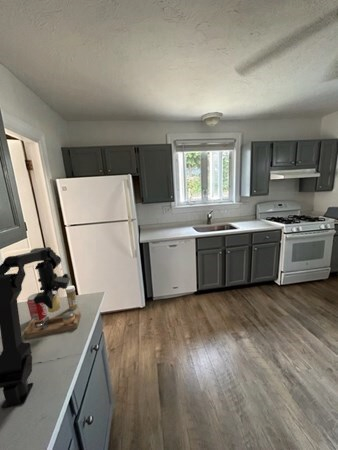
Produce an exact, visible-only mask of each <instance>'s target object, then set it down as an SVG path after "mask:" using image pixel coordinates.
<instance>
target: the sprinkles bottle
mask: <svg viewBox="0 0 338 450" xmlns="http://www.w3.org/2000/svg"><path fill="white" fill-rule="evenodd" d="M64 290H65V293H66V299H67V305H68V309H69V310H68V311H75V310H77V309H78V308H79V307H78V301H77V300H78V299H77V295H76V288H75V286H74V285H68V286H67V288H66V289H64Z"/></svg>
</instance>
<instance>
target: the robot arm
mask: <svg viewBox="0 0 338 450" xmlns="http://www.w3.org/2000/svg"><path fill="white" fill-rule="evenodd" d="M34 262H36V263H37V265H36V266H35V268H34V269H35V270H37V271H38V277H39V278H38V279H37V281H38V283H40V285H41V286H40V288H39V290H40V291H41V292H37V293H38V294H37V295H36V297H35V298H34V299H33V300H34V303H35V304H37V303H44V304H45V306H46V308H47V309H48V308H49V309H52V308H53V301H52V298H53V297H54V296H55V294H54V295H53V293H52V291H57V293H58V290H59V289H62V290H65V289H66V288H67V287H68V286H69V285H70V283H69V282H70V280H71V278H70V276H69V273H64V274H63V275H60V276H58V274H57V273H56V272H55V270H54V269H56V268H57V267H58V266H59V265H60V264H61V263H62V258H61V257H60V256H59V255H57V254H56V252H54V250H53V249H52V248H51V247H50V246H48V247H47V246H46V247H38V248H37V247H36V248H33V249H31V250H30V252H26V253H21V254H16V255H9V256H6V257H5V259H4V260H3V261H2V263H1V264H0V337H1V338H0V339H1V346H2V350H1V353H0V389H2V393H3V395H4V396H3V397H4V401H3V402H2V405H1V407H0V408H1V409H7V408H10V407H11V408H12V407H15V406H19V405H22V404H24V403H25V402H26V401H27V399H28V397H29V395H30V393H31V390H32V388H33V386H34V383H33V382H30V383H28V379H29V377H30V376H31V374H32V373H33V356H32V354H33V352H32V350H31V343H30V342H24V341H23V338H22V336H23V335H22V331H21V323H20V322H21V321H20V313H19V307H18V298H19V296H20V294H21V292H22V290H23V287H22V285H23V283H24V280H25V278H26V271H25V268H24V267H25V265H29V264H31V263H34ZM12 268H18V270H17V272H16V273H8V272H9V271H10V270H11V269H12Z"/></svg>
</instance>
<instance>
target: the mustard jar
mask: <svg viewBox="0 0 338 450" xmlns="http://www.w3.org/2000/svg"><path fill="white" fill-rule="evenodd" d="M52 293H53V295H54V294H55V296H54V297H53V298H52V301H53V308H52V309H49V308H48V307H47V312H48V313H55V312H57V311H58V310H60V308H61V306H60V300H59V296H58V293H57V291H52Z"/></svg>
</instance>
